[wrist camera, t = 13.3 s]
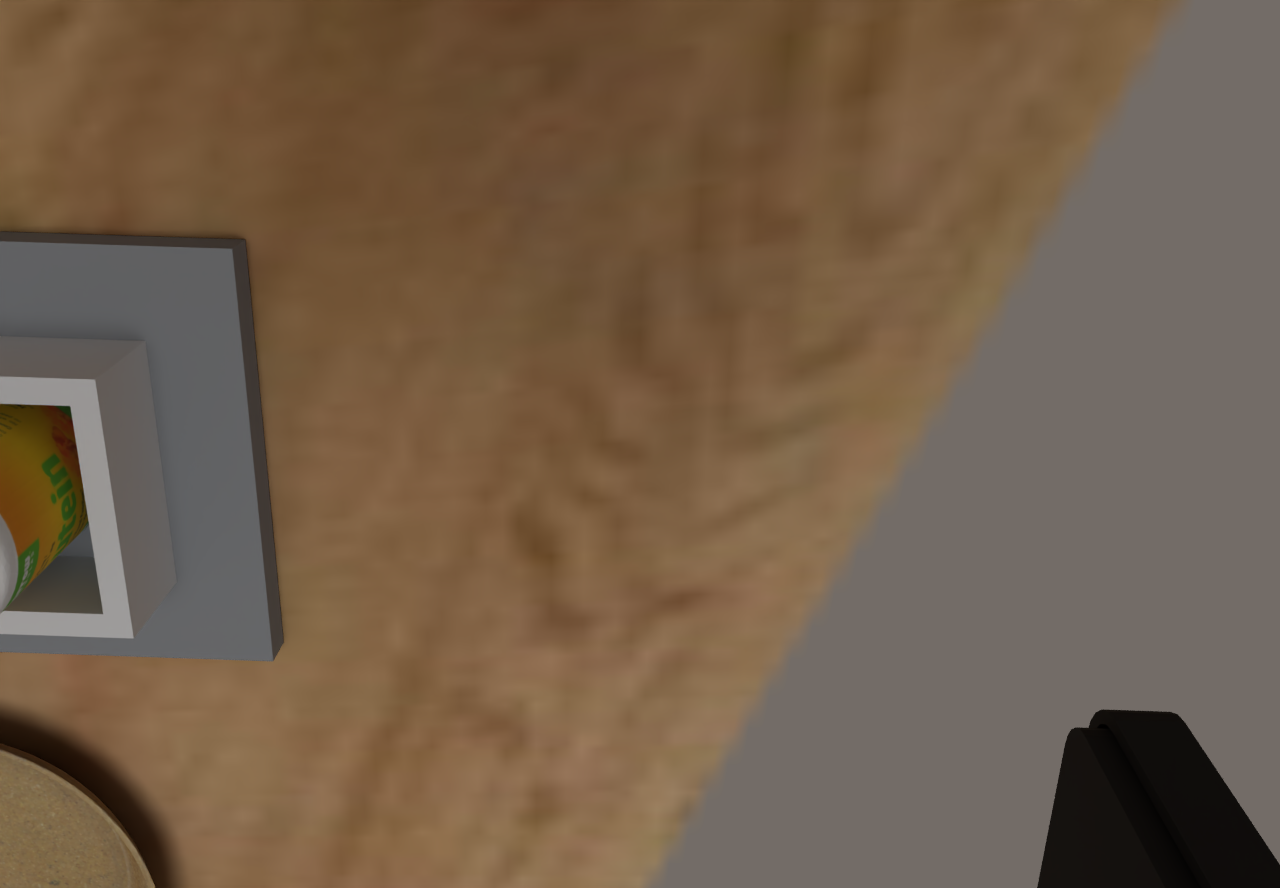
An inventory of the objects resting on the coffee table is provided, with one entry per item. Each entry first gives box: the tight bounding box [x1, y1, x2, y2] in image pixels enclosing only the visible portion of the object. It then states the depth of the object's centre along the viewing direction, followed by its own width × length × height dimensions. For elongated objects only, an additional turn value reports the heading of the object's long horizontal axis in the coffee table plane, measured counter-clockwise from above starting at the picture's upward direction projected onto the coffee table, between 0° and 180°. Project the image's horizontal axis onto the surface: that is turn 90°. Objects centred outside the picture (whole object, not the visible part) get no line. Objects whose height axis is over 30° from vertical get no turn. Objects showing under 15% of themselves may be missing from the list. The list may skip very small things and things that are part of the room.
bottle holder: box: [0, 232, 283, 661], centre depth 37 cm, size 14×14×5 cm
